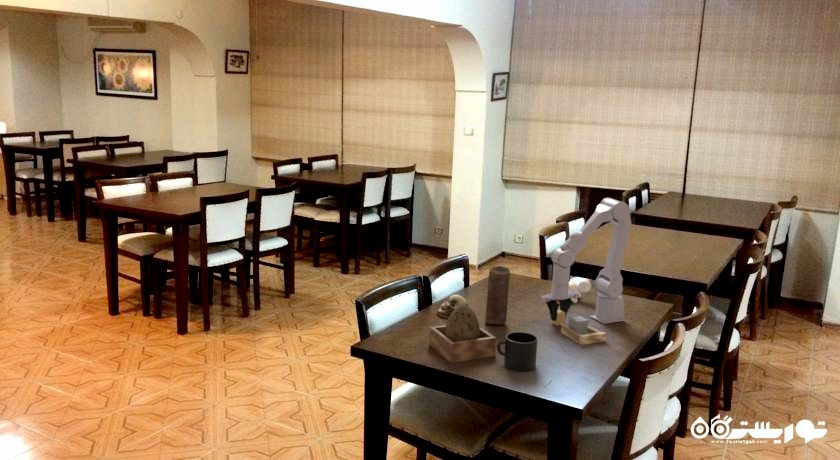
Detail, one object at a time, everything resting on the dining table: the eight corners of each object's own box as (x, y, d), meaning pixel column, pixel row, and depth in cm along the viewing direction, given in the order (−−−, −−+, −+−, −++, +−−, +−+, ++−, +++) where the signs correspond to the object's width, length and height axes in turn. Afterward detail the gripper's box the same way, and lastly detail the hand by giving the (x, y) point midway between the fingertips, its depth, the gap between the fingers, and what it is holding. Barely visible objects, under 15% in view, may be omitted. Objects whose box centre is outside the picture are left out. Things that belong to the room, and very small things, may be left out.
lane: (583, 329, 244) (584, 322, 243) (605, 341, 233) (606, 333, 233) (560, 333, 240) (561, 325, 239) (581, 345, 229) (582, 336, 229)
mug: (500, 356, 218) (502, 328, 216) (538, 362, 214) (540, 334, 212) (491, 367, 210) (493, 338, 208) (531, 374, 205) (533, 345, 203)
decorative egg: (468, 359, 215) (470, 313, 212) (438, 351, 220) (439, 306, 217) (484, 349, 224) (486, 304, 220) (455, 341, 229) (456, 297, 226)
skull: (432, 316, 250) (437, 290, 255) (438, 327, 259) (443, 302, 264) (464, 319, 247) (469, 293, 252) (469, 330, 255) (474, 305, 260)
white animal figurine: (555, 307, 277) (592, 299, 270) (548, 286, 276) (585, 278, 269) (560, 301, 284) (596, 293, 277) (554, 281, 284) (590, 273, 277)
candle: (508, 321, 249) (511, 267, 245) (504, 328, 243) (507, 272, 238) (487, 318, 252) (490, 264, 248) (482, 325, 245) (485, 270, 241)
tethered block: (560, 321, 251) (561, 306, 250) (586, 335, 238) (588, 320, 237) (550, 322, 250) (551, 308, 248) (576, 337, 236) (577, 321, 235)
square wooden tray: (471, 338, 232) (472, 321, 231) (495, 355, 218) (496, 337, 217) (429, 344, 226) (429, 327, 224) (450, 362, 212) (451, 344, 211)
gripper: (570, 277, 253) (567, 313, 256) (536, 281, 247) (534, 318, 250) (582, 283, 246) (579, 319, 249) (548, 287, 240) (545, 324, 243)
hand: (557, 319), depth 249 cm, fingers closed on tethered block, 3 cm apart
